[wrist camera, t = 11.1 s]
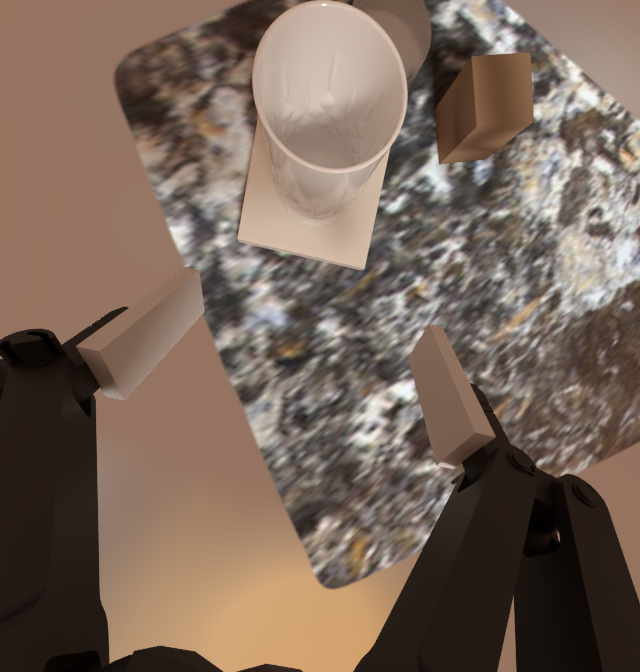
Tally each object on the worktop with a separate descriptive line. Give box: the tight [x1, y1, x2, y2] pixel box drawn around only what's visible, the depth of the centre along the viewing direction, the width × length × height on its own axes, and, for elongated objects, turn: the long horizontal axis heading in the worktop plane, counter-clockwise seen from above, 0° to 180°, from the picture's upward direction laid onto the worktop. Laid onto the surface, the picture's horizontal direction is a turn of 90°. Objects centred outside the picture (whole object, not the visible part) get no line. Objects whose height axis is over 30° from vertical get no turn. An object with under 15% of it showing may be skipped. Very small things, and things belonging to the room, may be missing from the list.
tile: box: [238, 117, 390, 270], centre depth 22 cm, size 12×12×1 cm
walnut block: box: [435, 52, 534, 164], centre depth 21 cm, size 5×5×5 cm
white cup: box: [252, 0, 407, 227], centre depth 17 cm, size 8×8×10 cm
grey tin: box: [352, 0, 431, 92], centre depth 20 cm, size 6×6×6 cm
